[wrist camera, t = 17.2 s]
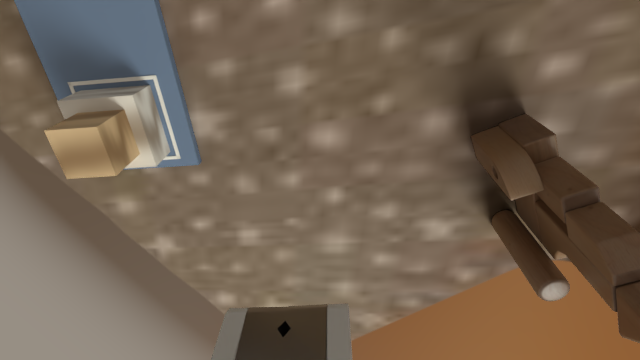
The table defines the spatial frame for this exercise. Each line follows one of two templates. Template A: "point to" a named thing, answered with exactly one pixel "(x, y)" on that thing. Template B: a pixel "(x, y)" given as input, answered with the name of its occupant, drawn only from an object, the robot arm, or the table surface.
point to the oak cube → (93, 144)
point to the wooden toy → (560, 219)
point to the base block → (138, 112)
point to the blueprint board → (113, 58)
